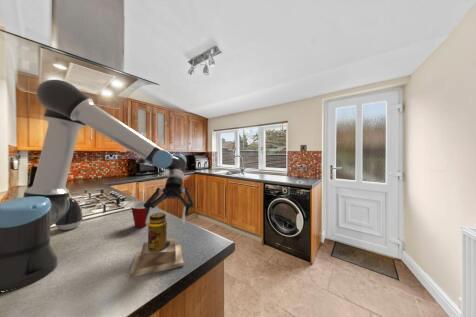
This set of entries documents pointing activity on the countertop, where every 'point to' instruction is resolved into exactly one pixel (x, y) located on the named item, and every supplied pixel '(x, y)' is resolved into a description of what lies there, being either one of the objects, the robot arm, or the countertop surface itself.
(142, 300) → the countertop surface
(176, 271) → the countertop surface
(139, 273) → the base board
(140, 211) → the plastic cup
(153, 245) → the condiment
